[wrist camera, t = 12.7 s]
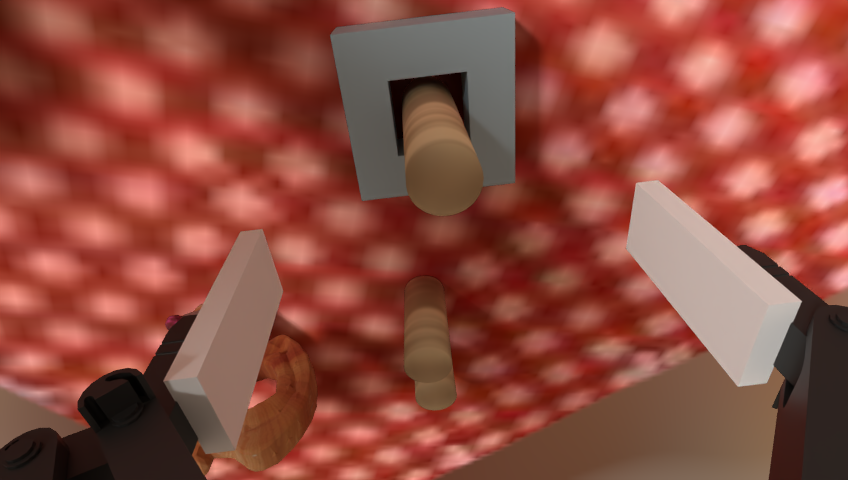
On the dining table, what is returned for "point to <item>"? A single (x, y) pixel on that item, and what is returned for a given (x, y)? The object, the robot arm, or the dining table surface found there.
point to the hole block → (418, 57)
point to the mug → (271, 407)
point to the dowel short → (436, 393)
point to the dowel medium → (426, 331)
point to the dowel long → (437, 150)
